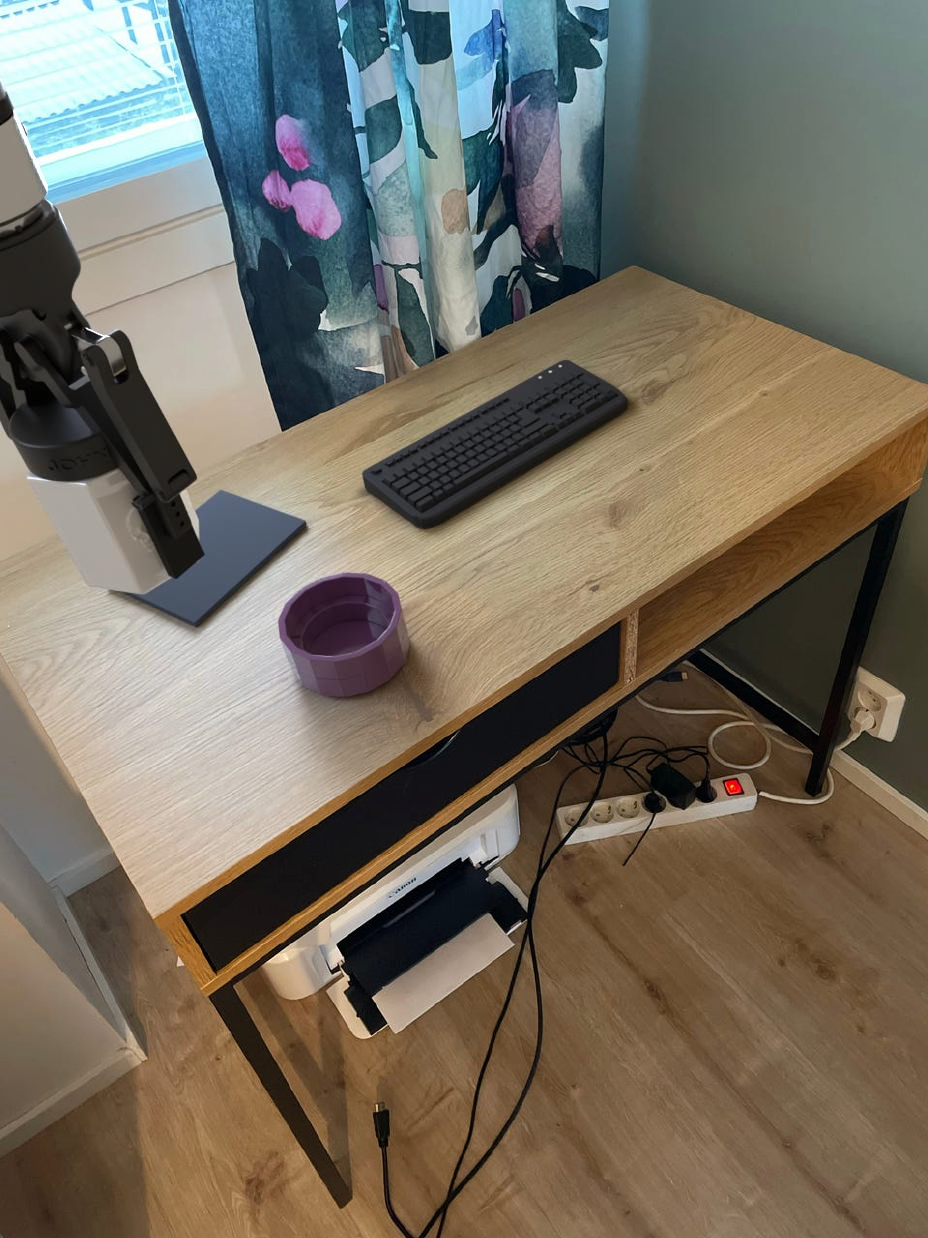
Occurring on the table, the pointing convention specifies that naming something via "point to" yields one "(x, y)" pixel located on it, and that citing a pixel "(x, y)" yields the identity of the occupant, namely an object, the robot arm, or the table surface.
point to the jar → (88, 497)
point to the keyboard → (493, 444)
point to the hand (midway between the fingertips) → (140, 544)
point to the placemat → (223, 555)
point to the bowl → (344, 634)
